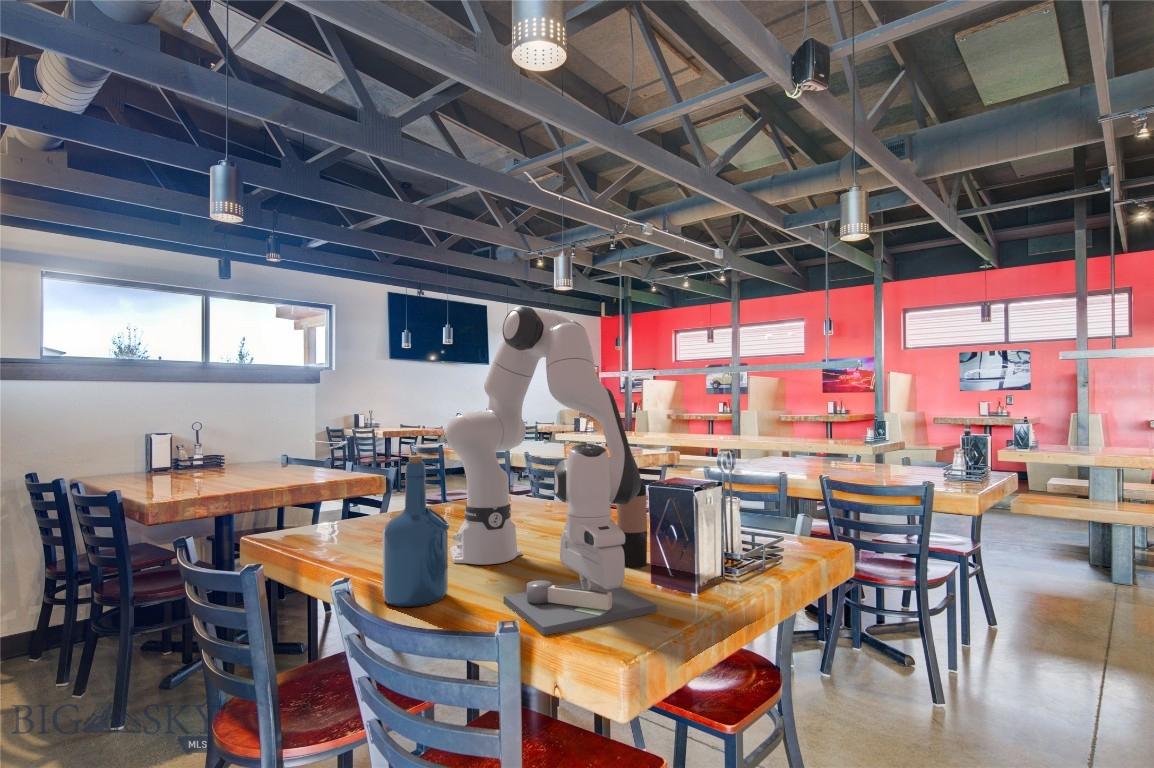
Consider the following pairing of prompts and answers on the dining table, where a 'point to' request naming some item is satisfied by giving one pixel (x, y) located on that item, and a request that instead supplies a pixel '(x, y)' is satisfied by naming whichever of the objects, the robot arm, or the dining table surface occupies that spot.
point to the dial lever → (567, 595)
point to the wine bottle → (415, 547)
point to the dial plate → (578, 611)
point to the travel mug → (634, 529)
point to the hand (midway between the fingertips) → (589, 599)
